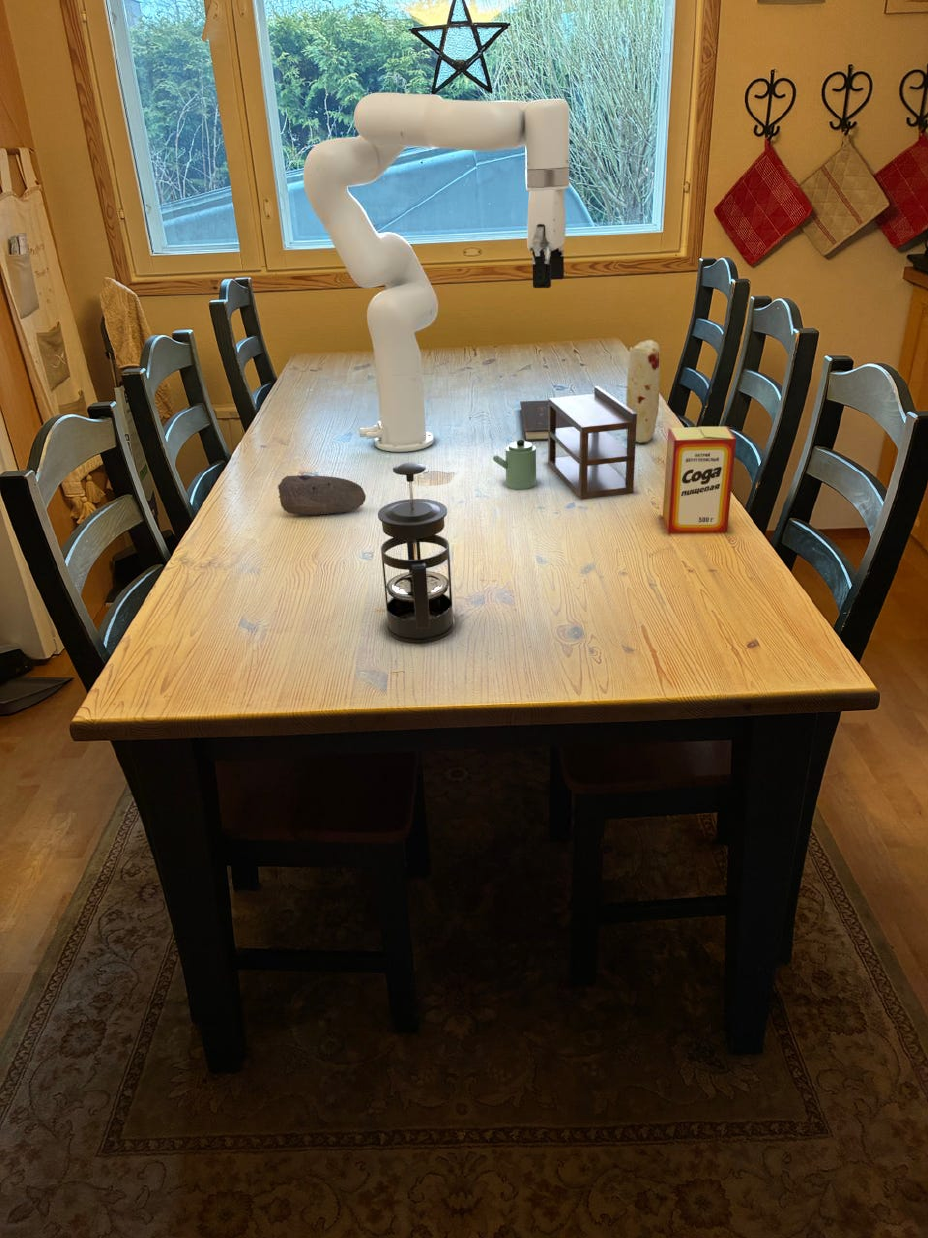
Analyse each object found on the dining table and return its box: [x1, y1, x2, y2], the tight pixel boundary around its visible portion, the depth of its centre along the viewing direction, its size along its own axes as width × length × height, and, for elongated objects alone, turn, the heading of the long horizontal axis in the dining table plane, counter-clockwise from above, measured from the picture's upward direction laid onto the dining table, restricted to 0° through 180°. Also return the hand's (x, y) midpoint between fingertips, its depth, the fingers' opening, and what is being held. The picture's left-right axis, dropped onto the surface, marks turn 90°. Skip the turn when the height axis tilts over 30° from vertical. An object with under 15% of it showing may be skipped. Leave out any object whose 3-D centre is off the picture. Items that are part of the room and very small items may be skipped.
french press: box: [377, 462, 456, 644], centre depth 123 cm, size 12×9×23 cm
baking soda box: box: [662, 426, 737, 534], centre depth 152 cm, size 10×6×16 cm
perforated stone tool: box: [277, 474, 367, 516], centre depth 166 cm, size 15×5×7 cm, turn 89°
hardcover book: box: [519, 399, 574, 442], centre depth 208 cm, size 16×23×2 cm
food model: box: [625, 339, 661, 444], centre depth 192 cm, size 10×7×20 cm
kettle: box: [492, 438, 537, 490], centre depth 174 cm, size 8×6×9 cm
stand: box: [547, 385, 637, 500], centre depth 174 cm, size 10×20×15 cm, turn 12°
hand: (548, 283), depth 171 cm, fingers open, 9 cm apart
